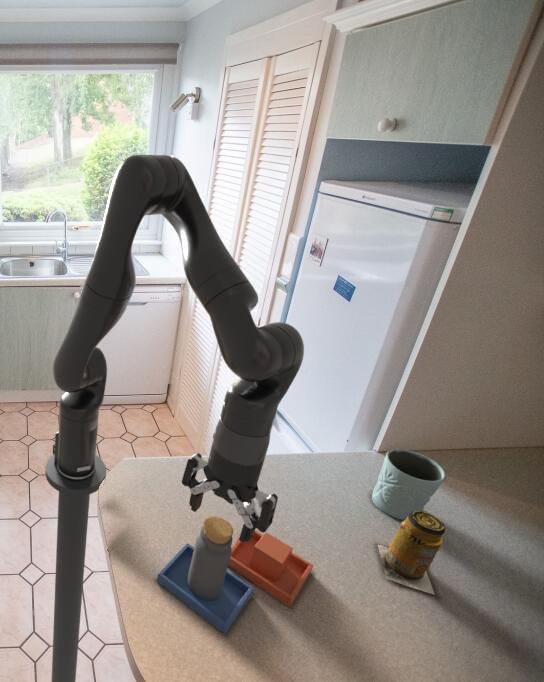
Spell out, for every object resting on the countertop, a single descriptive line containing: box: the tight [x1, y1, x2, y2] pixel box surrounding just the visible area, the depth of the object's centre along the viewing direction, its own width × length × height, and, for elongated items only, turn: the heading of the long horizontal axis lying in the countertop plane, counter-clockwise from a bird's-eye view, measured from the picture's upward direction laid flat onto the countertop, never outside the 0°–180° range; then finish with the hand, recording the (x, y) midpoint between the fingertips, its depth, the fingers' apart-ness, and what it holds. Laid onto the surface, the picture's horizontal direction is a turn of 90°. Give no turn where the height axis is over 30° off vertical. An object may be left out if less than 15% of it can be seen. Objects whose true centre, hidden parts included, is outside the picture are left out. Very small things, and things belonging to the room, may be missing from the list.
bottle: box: [187, 515, 234, 601], centre depth 79 cm, size 6×6×15 cm
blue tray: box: [156, 542, 255, 635], centre depth 82 cm, size 13×10×2 cm
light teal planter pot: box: [371, 448, 446, 521], centre depth 98 cm, size 10×10×12 cm
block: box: [249, 531, 294, 582], centre depth 85 cm, size 5×5×5 cm
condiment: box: [377, 510, 447, 596], centre depth 84 cm, size 7×8×12 cm
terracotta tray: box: [228, 530, 314, 608], centre depth 86 cm, size 12×10×2 cm
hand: (218, 523), depth 76 cm, fingers open, 8 cm apart
